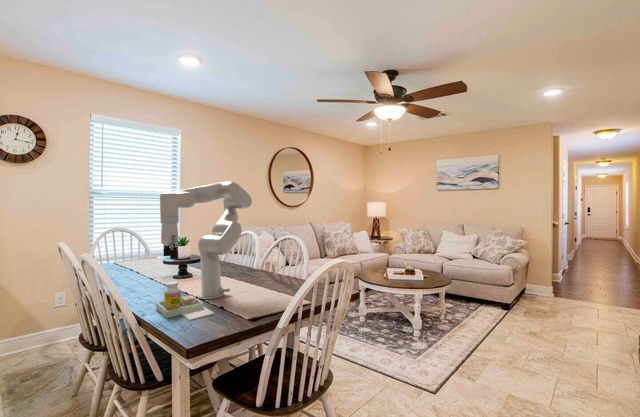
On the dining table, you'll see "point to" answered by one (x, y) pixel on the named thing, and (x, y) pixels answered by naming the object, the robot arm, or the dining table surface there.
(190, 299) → the birch block
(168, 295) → the supplement bottle
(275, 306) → the dining table surface
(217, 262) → the robot arm
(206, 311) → the mat
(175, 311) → the tray
